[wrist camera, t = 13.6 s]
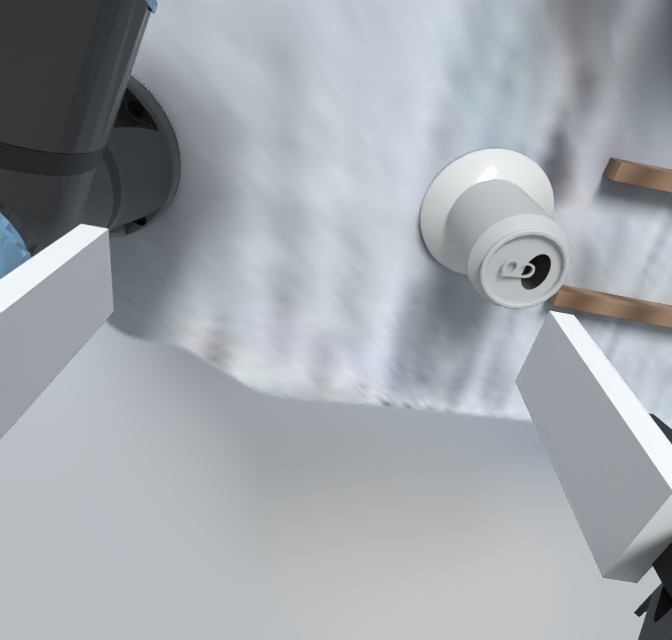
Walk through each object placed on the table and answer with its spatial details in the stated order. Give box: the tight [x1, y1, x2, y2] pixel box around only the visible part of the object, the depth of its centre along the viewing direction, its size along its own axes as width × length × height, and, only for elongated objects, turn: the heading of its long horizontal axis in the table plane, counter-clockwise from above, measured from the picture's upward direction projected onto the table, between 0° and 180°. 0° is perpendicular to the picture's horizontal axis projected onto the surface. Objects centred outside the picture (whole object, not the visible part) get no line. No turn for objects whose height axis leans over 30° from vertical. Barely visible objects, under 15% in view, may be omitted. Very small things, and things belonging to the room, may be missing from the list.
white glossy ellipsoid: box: [420, 148, 554, 275], centre depth 45 cm, size 12×12×1 cm
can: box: [448, 179, 572, 309], centre depth 39 cm, size 8×8×12 cm
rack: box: [548, 158, 672, 328], centre depth 45 cm, size 17×14×2 cm
